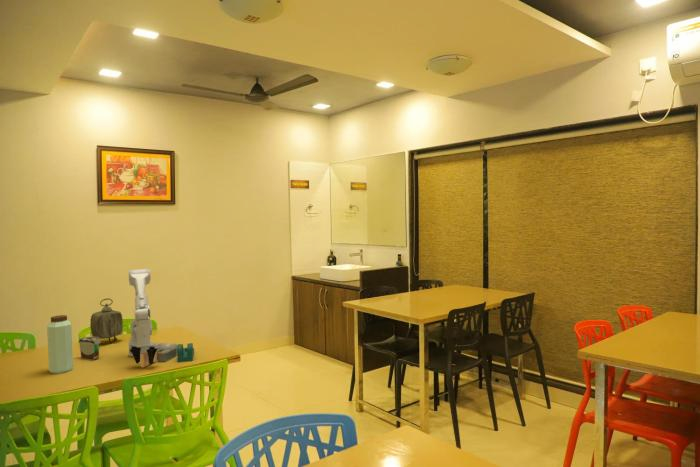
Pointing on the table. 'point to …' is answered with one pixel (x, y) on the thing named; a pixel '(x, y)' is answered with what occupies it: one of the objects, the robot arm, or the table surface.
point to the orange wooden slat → (146, 359)
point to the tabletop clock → (106, 323)
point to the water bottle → (60, 344)
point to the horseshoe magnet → (166, 352)
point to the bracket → (185, 353)
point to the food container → (89, 348)
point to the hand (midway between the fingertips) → (144, 363)
